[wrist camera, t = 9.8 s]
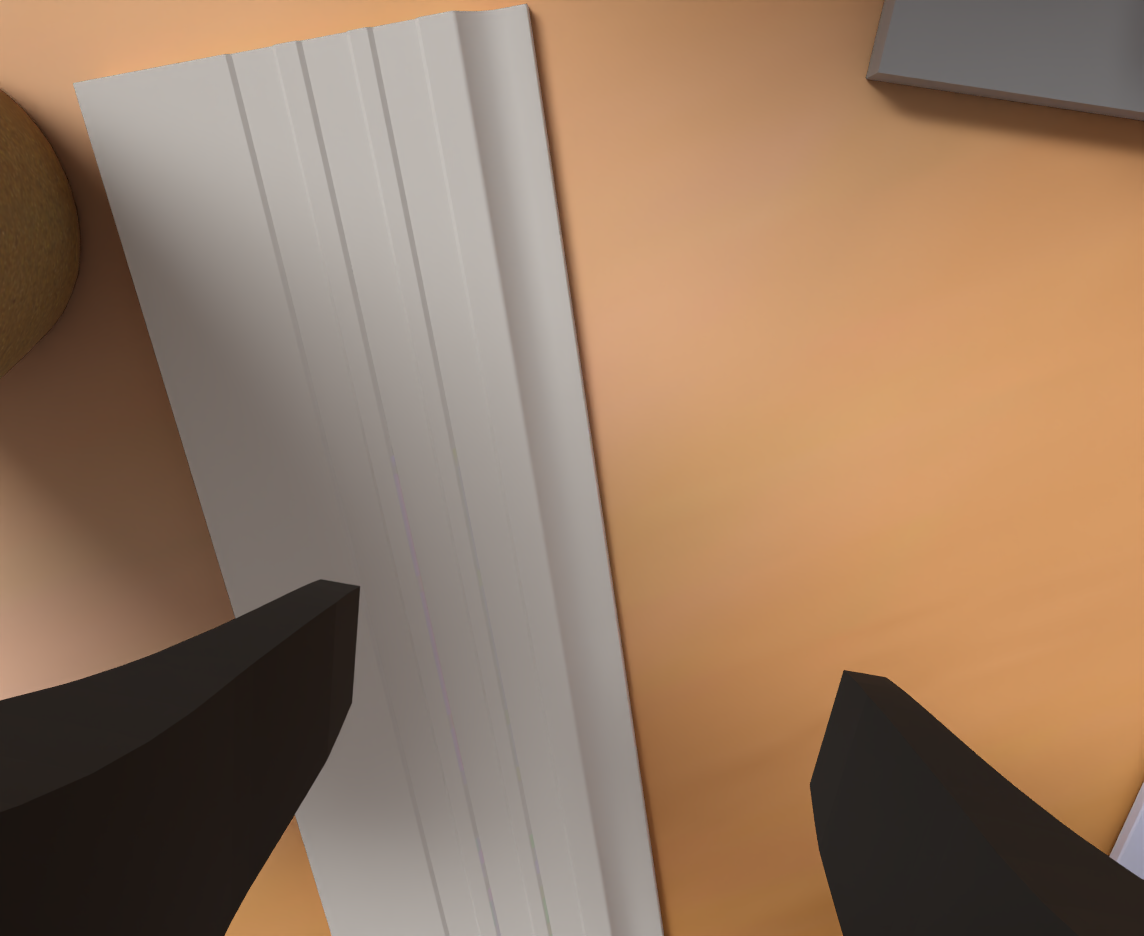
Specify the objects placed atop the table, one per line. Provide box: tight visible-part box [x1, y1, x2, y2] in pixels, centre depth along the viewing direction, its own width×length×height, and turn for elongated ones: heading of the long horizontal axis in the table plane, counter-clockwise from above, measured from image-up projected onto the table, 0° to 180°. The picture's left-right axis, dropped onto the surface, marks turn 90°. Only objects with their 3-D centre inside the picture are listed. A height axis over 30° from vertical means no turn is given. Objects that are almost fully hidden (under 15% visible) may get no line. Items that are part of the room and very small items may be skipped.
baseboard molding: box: [73, 4, 664, 936], centre depth 23 cm, size 31×3×12 cm
